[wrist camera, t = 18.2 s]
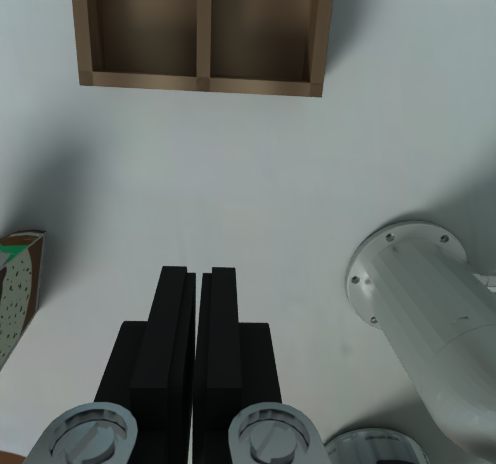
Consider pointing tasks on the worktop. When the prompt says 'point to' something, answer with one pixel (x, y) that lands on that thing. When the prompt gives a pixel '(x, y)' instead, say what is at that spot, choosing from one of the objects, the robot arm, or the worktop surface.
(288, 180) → the worktop surface
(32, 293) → the food container
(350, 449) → the supplement tub
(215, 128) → the worktop surface
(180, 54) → the rack
